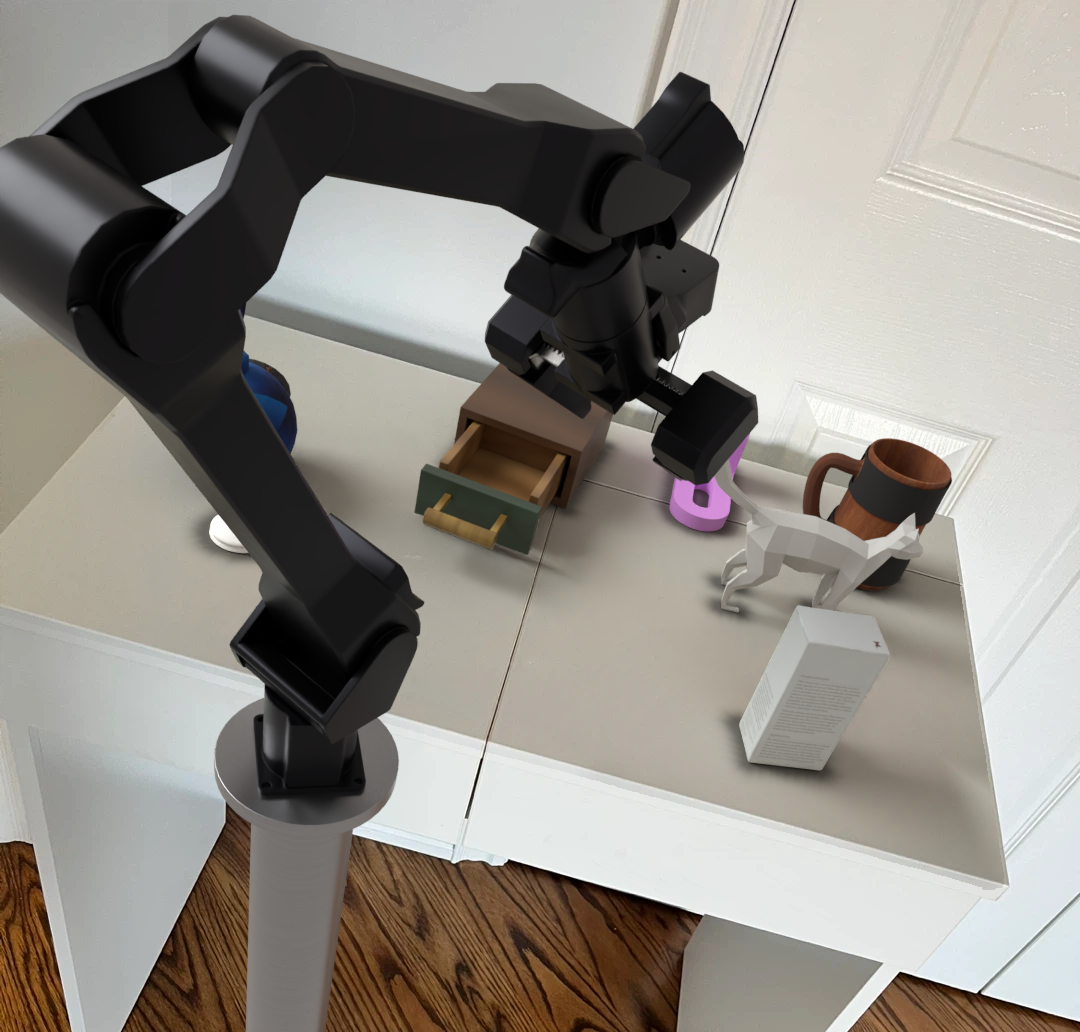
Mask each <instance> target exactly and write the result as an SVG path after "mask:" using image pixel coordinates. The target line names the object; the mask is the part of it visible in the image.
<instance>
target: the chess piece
mask: <svg viewBox="0 0 1080 1032" xmlns="http://www.w3.org/2000/svg"><path fill="white" fill-rule="evenodd" d="M209 537H210V539H211V541H212V542H213V543H214V544H215V545H216V546H217V547H219V548H221V549H223V550H225V551H228V552H232V553H237V554H249V553H248V552H247V550H246V549H245V548H244V546H243V545H242V544H241V543H240V541H239V540H238V539H237V538H236V536H235V535H234V534H233V532H232V531H231V530H230V529H229V527H228V526H227V525H226V524H225V522H224V521H223V520H222V518H221V517H220V516H219V515H218V514H217V515H215V516H214V517H213V518H212V520H211V522H210V525H209Z"/></svg>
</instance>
